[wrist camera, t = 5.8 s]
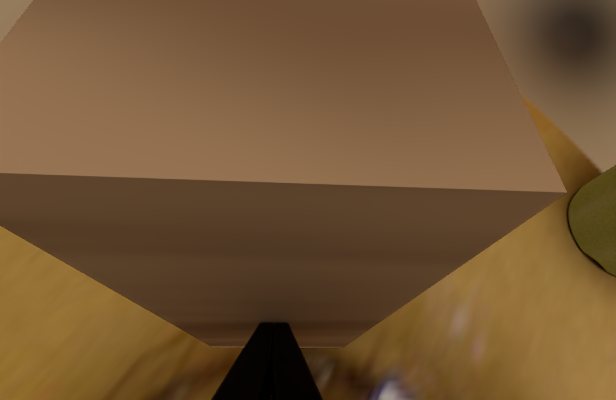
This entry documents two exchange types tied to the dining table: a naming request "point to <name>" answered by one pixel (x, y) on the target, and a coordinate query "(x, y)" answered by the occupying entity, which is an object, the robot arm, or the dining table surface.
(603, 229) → the plant pot
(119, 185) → the walnut block
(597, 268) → the dining table surface
